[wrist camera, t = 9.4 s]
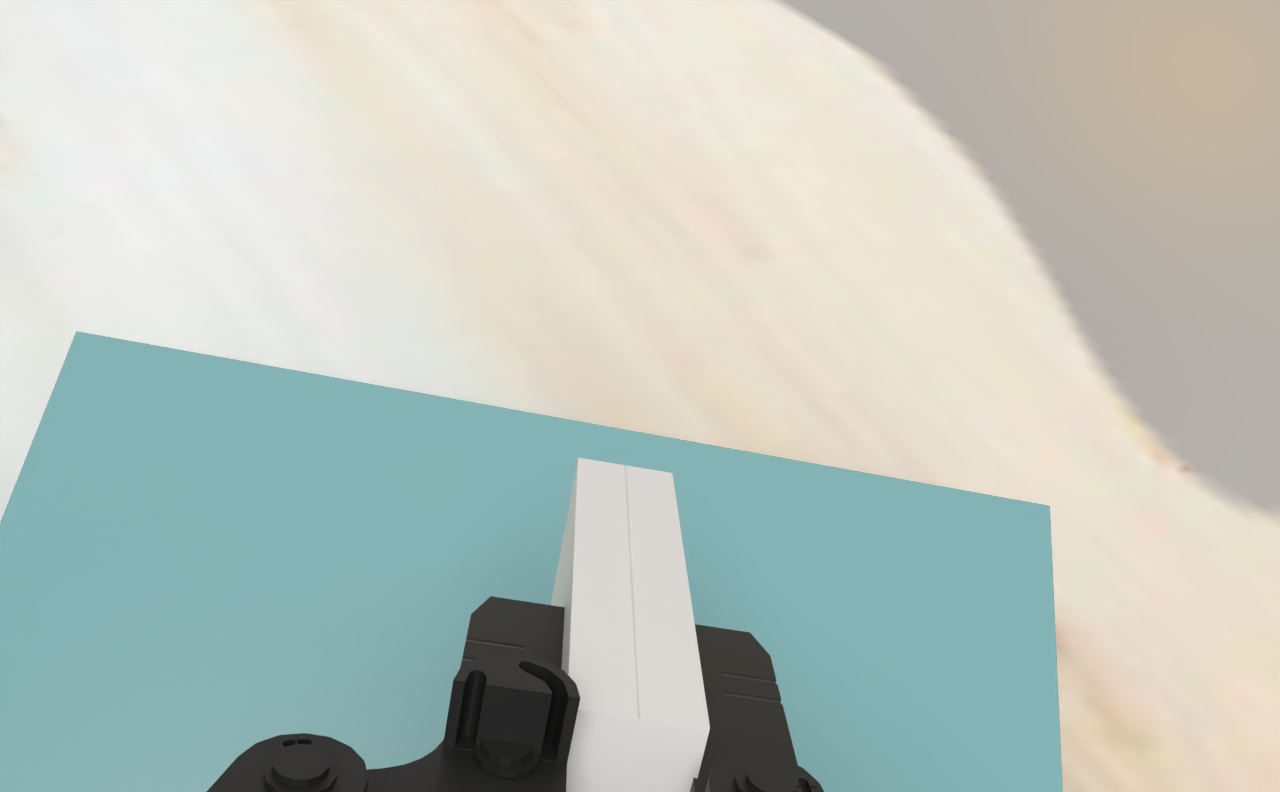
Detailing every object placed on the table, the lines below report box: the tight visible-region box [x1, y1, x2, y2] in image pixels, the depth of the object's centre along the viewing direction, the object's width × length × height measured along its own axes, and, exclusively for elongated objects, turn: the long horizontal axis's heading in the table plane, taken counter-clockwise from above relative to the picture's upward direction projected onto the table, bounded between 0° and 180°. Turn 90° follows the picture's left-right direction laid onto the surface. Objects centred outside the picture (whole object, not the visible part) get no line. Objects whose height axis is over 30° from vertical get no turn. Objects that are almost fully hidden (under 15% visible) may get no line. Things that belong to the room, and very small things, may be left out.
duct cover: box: [0, 331, 1063, 792], centre depth 28 cm, size 11×26×1 cm, turn 83°
